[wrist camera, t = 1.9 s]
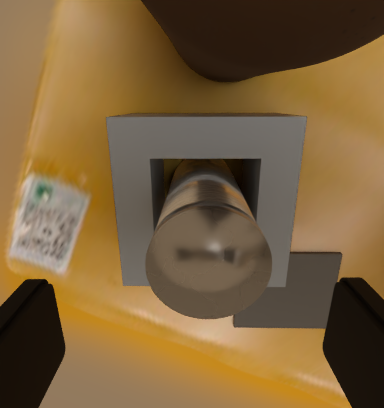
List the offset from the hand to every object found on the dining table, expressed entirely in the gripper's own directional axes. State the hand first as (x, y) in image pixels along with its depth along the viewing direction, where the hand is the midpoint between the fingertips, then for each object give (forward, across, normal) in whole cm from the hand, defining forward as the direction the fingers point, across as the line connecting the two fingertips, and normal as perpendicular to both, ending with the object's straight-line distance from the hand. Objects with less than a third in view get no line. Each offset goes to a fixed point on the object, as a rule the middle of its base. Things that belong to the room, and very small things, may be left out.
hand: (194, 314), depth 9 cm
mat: (+17, -10, +12) cm, 22 cm away
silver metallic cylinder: (+17, -1, 0) cm, 17 cm away
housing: (+17, -1, 0) cm, 17 cm away
